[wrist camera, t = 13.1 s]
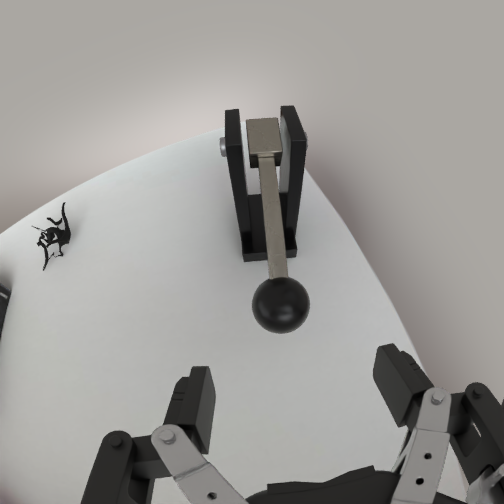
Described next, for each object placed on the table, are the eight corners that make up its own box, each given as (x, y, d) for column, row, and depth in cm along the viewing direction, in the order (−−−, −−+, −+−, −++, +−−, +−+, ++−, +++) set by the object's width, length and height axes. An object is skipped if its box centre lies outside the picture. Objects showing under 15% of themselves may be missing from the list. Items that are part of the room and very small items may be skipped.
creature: (40, 275, 28) (70, 270, 26) (11, 257, 23) (36, 248, 21) (56, 226, 32) (88, 214, 30) (32, 206, 27) (61, 190, 25)
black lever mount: (301, 256, 26) (320, 153, 15) (238, 262, 26) (216, 160, 15) (290, 200, 29) (297, 97, 18) (235, 205, 29) (218, 102, 18)
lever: (306, 325, 18) (317, 334, 15) (255, 330, 18) (254, 341, 15) (284, 137, 20) (288, 111, 16) (238, 141, 20) (234, 115, 16)
